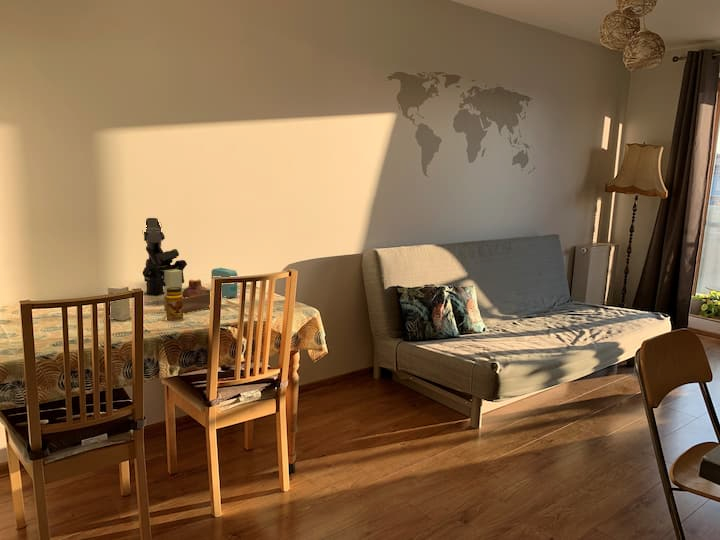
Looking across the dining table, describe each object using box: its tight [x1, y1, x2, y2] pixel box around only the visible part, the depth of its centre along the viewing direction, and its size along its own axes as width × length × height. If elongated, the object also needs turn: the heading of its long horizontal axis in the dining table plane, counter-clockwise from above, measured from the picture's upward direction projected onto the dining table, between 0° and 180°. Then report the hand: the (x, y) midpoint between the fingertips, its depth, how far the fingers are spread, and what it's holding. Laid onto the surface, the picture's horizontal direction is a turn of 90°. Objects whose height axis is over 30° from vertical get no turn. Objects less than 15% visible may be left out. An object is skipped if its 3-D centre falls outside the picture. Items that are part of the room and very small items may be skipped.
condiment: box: [158, 287, 189, 323], centre depth 220 cm, size 7×8×12 cm
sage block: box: [164, 269, 183, 295], centre depth 244 cm, size 5×5×14 cm
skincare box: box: [107, 285, 131, 321], centre depth 218 cm, size 6×4×12 cm
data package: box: [211, 267, 238, 298], centre depth 261 cm, size 12×4×12 cm, turn 54°
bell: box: [182, 279, 207, 298], centre depth 261 cm, size 12×12×7 cm
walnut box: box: [163, 288, 211, 314], centre depth 238 cm, size 10×19×6 cm, turn 145°
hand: (174, 284), depth 243 cm, fingers open, 9 cm apart
